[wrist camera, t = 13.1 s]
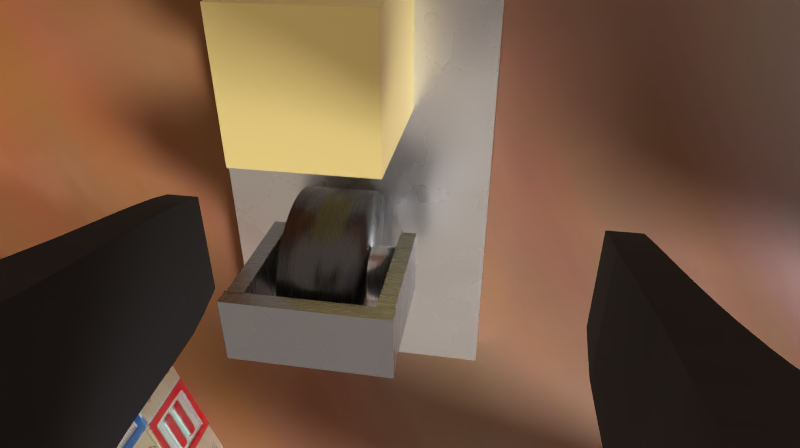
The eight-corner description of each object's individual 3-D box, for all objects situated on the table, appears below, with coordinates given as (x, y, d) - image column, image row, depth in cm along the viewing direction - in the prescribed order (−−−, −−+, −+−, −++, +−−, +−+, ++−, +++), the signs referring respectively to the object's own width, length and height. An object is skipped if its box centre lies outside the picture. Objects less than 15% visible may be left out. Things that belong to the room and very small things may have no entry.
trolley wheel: (510, -69, 17) (503, -34, 11) (477, 343, 25) (462, 495, 19) (207, -73, 18) (56, -43, 12) (263, 319, 26) (186, 454, 20)
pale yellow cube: (414, -28, 17) (378, 7, 13) (413, 109, 19) (381, 179, 15) (277, -31, 18) (199, 1, 13) (290, 102, 20) (226, 167, 15)
